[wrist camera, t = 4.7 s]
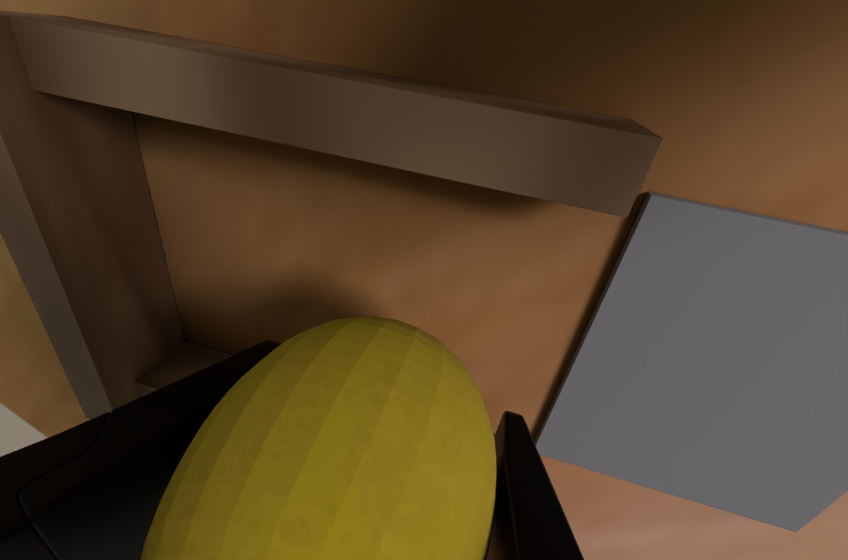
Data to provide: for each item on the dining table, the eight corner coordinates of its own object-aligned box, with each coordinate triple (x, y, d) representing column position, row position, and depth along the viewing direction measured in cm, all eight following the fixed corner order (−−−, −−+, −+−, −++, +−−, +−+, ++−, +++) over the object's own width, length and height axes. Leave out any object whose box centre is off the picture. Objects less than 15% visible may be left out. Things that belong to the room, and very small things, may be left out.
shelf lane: (632, 119, 9) (679, 149, 6) (497, 461, 16) (488, 554, 13) (65, 16, 11) (-107, 0, 8) (161, 357, 18) (86, 417, 15)
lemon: (533, 408, 11) (528, 989, 4) (365, 423, 13) (179, 822, 6) (469, 229, 9) (238, 820, 2) (280, 282, 11) (-138, 654, 4)
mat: (1084, 280, 8) (1100, 287, 8) (791, 523, 14) (796, 532, 13) (648, 191, 10) (651, 195, 9) (532, 445, 15) (532, 452, 15)
